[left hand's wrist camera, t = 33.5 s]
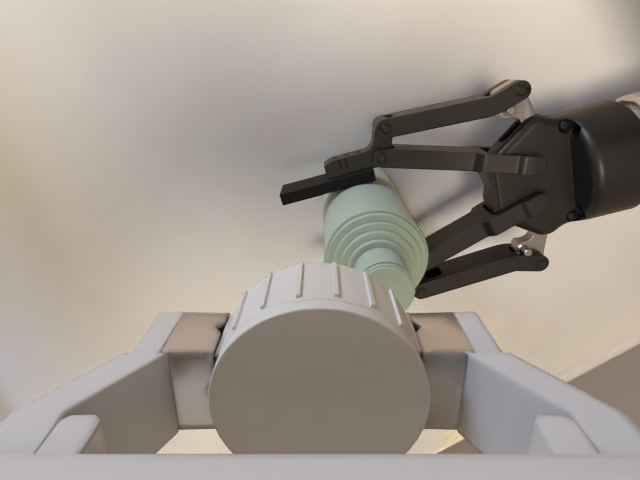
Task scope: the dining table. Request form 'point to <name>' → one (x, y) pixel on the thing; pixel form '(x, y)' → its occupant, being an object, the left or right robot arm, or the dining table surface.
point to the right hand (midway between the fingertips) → (297, 237)
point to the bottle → (376, 235)
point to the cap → (319, 367)
